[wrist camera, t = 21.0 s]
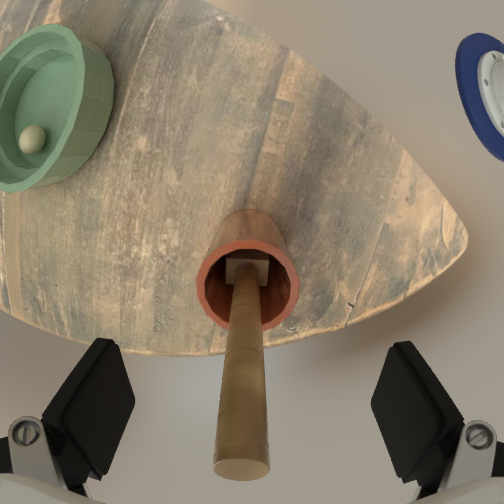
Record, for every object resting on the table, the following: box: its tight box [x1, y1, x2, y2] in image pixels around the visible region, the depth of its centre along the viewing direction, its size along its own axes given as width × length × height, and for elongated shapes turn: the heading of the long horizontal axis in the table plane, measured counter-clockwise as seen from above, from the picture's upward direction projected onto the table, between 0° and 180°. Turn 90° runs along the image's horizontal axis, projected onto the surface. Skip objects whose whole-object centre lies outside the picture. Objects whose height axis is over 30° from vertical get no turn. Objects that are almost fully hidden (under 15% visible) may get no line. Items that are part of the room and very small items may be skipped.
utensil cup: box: [196, 209, 300, 331], centre depth 21 cm, size 6×6×10 cm
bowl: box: [0, 23, 114, 193], centre depth 18 cm, size 16×16×6 cm
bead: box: [19, 125, 46, 155], centre depth 20 cm, size 3×3×3 cm
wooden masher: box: [213, 249, 270, 481], centre depth 16 cm, size 3×2×20 cm, turn 87°
